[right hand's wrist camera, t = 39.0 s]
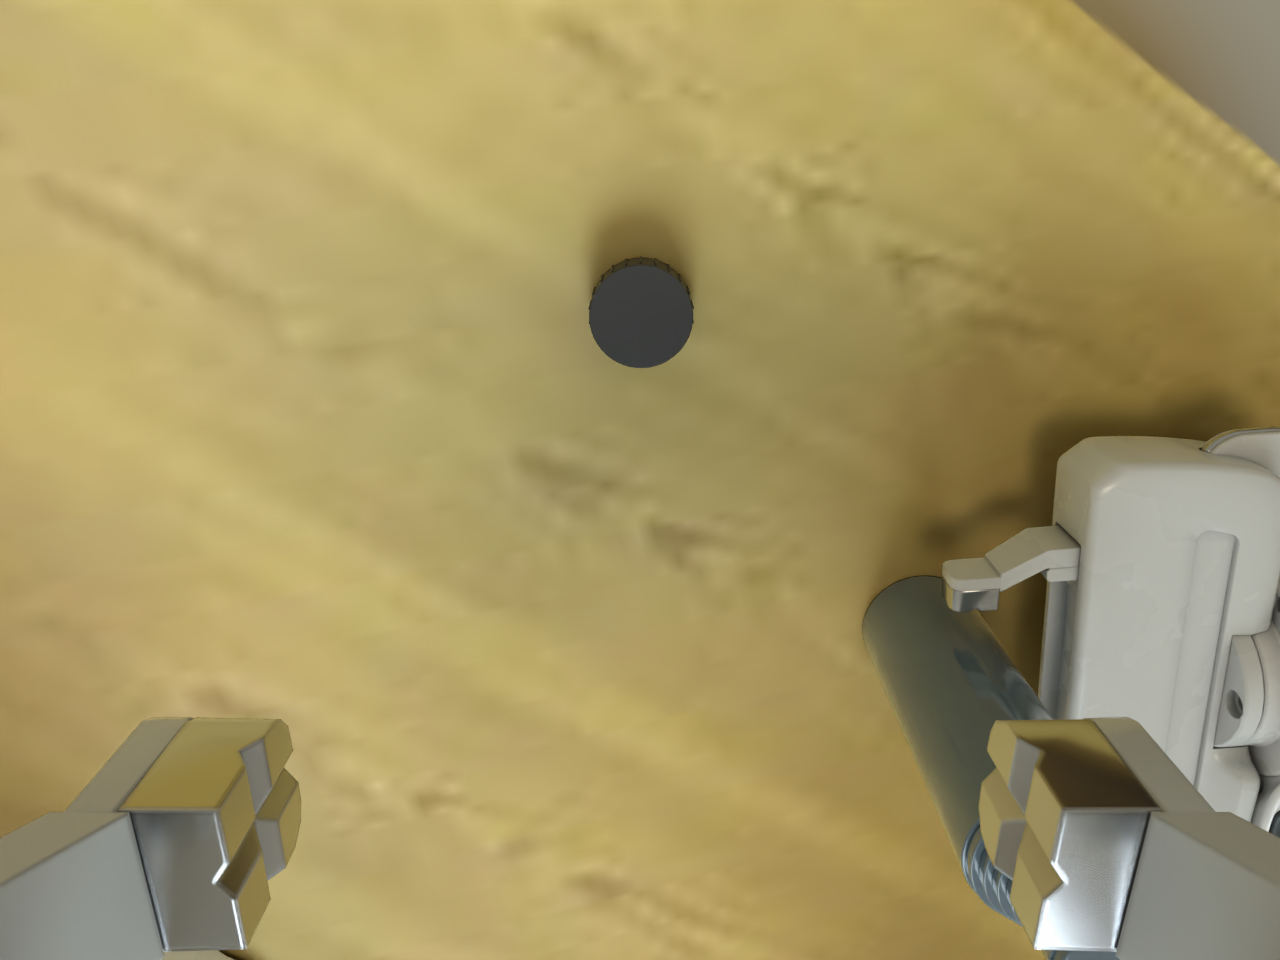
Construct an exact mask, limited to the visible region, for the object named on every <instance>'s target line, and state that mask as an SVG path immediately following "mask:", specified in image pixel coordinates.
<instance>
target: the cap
mask: <svg viewBox="0 0 1280 960" xmlns="http://www.w3.org/2000/svg"><path fill="white" fill-rule="evenodd" d="M689 294H690V293H689V289H688V286H685V284H684V282H683V280H682V279H681V275H680V274H677V273H676V272H675V271H674V270H673V269H672V268H671V267H670V265H669V264H668V265H666V264H664V263H662V262H660V261H657V260H656V259H655V258H654V259H649V258H642V257H640V258H633V259H629V260H627V259H625V261H623V262H620V263H618V264H617V265H615V266H614V265H612V268H611V269H609V270H608V271H607V272H606V273H605V274H604V275H603V274H602V276H601V279H600V281H599V283H598V284H597V287H594V290H593V293H592V295H593V298H592V301H591V302H590V305H589V310H590V312H589V324H590V327H591V331H592V334H593V337H594V339H595V341H596V342H597V344H598V346H599V347H600V348H601V350H602V351H603V352H604V353H605V354H606V355H607V356H609V357H610V358H611V359H613V360H614V361H616V362H618V363H620V364H622V365H625V366H629V367H634V368H648V367H653V366H657V365H660V364H662V363H664V362H666V361H668V360H670V359H671V358H672V357H674V356H675V355H676V354H677V353H678V352H679V351H680V350H681V349H682V348H683V346H684V345H685V343H686V341H687V339H688V338H689V335H690V332H691V329H692V323H693V309H694V307H693V303H692V300H690V297H689Z"/></svg>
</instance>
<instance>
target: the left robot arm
mask: <svg viewBox="0 0 1280 960" xmlns="http://www.w3.org/2000/svg"><path fill="white" fill-rule="evenodd" d="M1039 572H1040V573H1041V574H1042V575H1043V576H1044V577H1045V579H1046V580H1047V591H1046V603H1045V615H1044V626H1043V638H1042V650H1041V662H1040V674H1039V686H1038V698H1039V699H1040V701H1041V702H1042V704H1043V705H1044V707H1045V708H1046V709H1047V711H1048V712H1049V714H1050V715H1051V717H1052V718H1053V720H1063V719H1084V718H1102V717H1129V718H1131V719H1133V720H1136V721H1137V722H1139V723H1140V724H1141V725H1142V727H1143V728H1144V729H1145V730H1146V731H1147V732H1148V734H1149V735H1150V736H1151V737H1152V738H1153V739H1154V741H1155V742H1156V743H1157V744H1158V745H1159V746H1160V747H1161V749H1162V750H1163V751H1164V752H1165V753H1166V754H1167V756H1168V757H1169V758H1170V759H1171V760H1172V761H1173V763H1174V764H1175V765H1176V766H1177V767H1178V768H1179V770H1180V771H1181V772H1182V773H1183V774H1184V775H1185V777H1186V778H1187V779H1188V780H1189V781H1190V782H1191V784H1192V785H1193V786H1194V787H1195V788H1196V789H1197V791H1198V792H1199V793H1200V794H1201V795H1202V796H1203V798H1204V799H1205V800H1206V801H1207V802H1208V803H1209V805H1210V806H1211V807H1212V808H1213V809H1214V810H1215V812H1231V813H1233V814H1235V815H1237V816H1239V817H1241V818H1243V819H1244V820H1246V821H1248V822H1250V823H1252V824H1254V825H1256V826H1258V827H1260V828H1262V829H1264V830H1266V831H1267V832H1269V833H1271V834H1273V835H1275V836H1277V837H1279V838H1280V427H1258V428H1246V429H1234V430H1229V431H1226V432H1223V433H1220V434H1218V435H1216V436H1214V437H1213V438H1211V439H1210V440H1209V441H1207V442H1206V441H1199V440H1191V439H1181V438H1169V437H1152V436H1101V437H1090V438H1086V439H1083V440H1082V441H1080V442H1079V443H1077V444H1076V445H1075V446H1073V447H1072V448H1071V449H1069V450H1068V451H1067V452H1065V453H1064V454H1063V455H1062V456H1060V458H1059V460H1058V464H1057V472H1056V484H1055V496H1054V508H1053V520H1052V526H1043V527H1031V528H1026V529H1024V530H1022V531H1021V532H1019V533H1018V534H1016V535H1015V536H1013V537H1011V538H1010V539H1008V540H1007V541H1005V542H1003V543H1002V544H1000V545H999V546H997V547H995V548H994V549H992V550H991V551H989V552H988V553H986V554H985V556H984V557H980V558H967V559H955V560H948V561H945V562H944V563H943V565H942V597H943V599H944V600H946V602H947V606H948V607H949V608H950V609H951V610H953V611H956V612H961V613H963V612H970V611H972V610H973V609H975V608H976V609H978V610H979V611H991V610H998V599H999V591H1000V592H1002V591H1004V590H1006V589H1007V588H1009V587H1011V586H1013V585H1015V584H1017V583H1019V582H1021V581H1023V580H1025V579H1027V578H1029V577H1031V576H1033V575H1035V574H1037V573H1039Z"/></svg>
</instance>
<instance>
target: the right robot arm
mask: <svg viewBox="0 0 1280 960" xmlns="http://www.w3.org/2000/svg"><path fill="white" fill-rule="evenodd" d="M292 751H293V747H292V742H291V737H290V732H289V728H288V725H286V724H285V723H284V722H283V721H282V720H281V719H247V718H201V717H197V718H191V717H153V718H150V719H148V720H145V721H142V722H141V723H140V724H139V725H138V726H137V728H136V729H135V730H134V731H133V732H132V733H131V735H130V736H129V737H128V738H127V739H126V740H125V742H124V743H123V744H122V745H121V746H120V747H119V749H118V750H117V751H116V752H115V753H114V754H113V756H112V757H111V758H110V759H109V760H108V761H107V763H106V764H105V765H104V766H103V767H102V768H101V770H100V771H99V772H98V773H97V774H96V775H95V777H94V778H93V779H92V780H91V781H90V782H89V784H88V785H87V786H86V787H85V788H84V789H83V791H82V792H81V793H80V794H79V795H78V796H77V798H76V799H75V800H74V801H73V802H72V803H71V805H70V806H69V807H68V808H67V809H66V810H65V811H64V812H49V813H47V814H45V815H43V816H41V817H39V818H37V819H36V820H34V821H32V822H30V823H28V824H26V825H24V826H22V827H20V828H18V829H16V830H14V831H12V832H11V833H9V834H7V835H5V836H3V837H1V838H0V960H235V959H232V958H230V957H227V956H226V955H224V954H223V953H221V952H220V951H219V950H240V949H246V948H247V946H248V944H249V942H250V940H251V938H252V936H253V934H254V932H255V930H256V928H257V926H258V924H259V922H260V920H261V918H262V916H263V914H264V912H265V910H266V907H267V905H268V903H269V901H270V893H269V887H268V882H267V881H268V880H269V879H271V878H272V877H273V876H275V875H276V874H278V873H279V872H280V871H282V870H283V869H284V868H286V866H287V864H288V862H289V860H290V857H291V855H292V853H293V851H294V849H295V846H296V841H297V836H298V832H299V827H300V823H301V796H300V790H299V783H298V781H297V780H296V779H295V778H294V777H293V776H292V775H291V774H290V773H289V772H288V771H287V770H286V769H285V768H284V766H285V764H286V762H287V760H288V759H289V757H290V755H291V753H292ZM987 751H988V753H989V755H990V757H991V759H992V760H993V762H994V764H995V766H996V768H995V769H994V770H993V771H992V772H991V773H990V774H989V775H988V776H987V777H986V778H985V779H984V780H983V781H982V783H981V791H980V799H979V818H980V829H981V834H982V838H983V841H984V845H985V848H986V851H987V853H988V855H989V857H990V860H991V862H992V864H993V866H994V868H996V869H997V870H998V871H1000V872H1001V873H1002V874H1004V875H1005V876H1007V877H1008V878H1009V879H1011V880H1012V881H1013V882H1012V887H1011V893H1010V901H1011V903H1012V905H1013V907H1014V910H1015V912H1016V914H1017V916H1018V918H1019V920H1020V922H1021V924H1022V926H1023V928H1024V930H1025V932H1026V934H1027V936H1028V938H1029V940H1030V942H1031V944H1032V946H1033V948H1034V949H1038V950H1073V951H1108V952H1116V954H1115V956H1116V957H1117V958H1119V959H1120V960H1280V838H1279V837H1277V836H1275V835H1273V834H1271V833H1269V832H1267V831H1266V830H1264V829H1262V828H1260V827H1258V826H1256V825H1254V824H1252V823H1250V822H1248V821H1246V820H1244V819H1243V818H1241V817H1239V816H1237V815H1235V814H1233V813H1231V812H1215V810H1214V809H1213V808H1212V807H1211V806H1210V805H1209V803H1208V802H1207V801H1206V800H1205V799H1204V798H1203V796H1202V795H1201V794H1200V793H1199V792H1198V791H1197V789H1196V788H1195V787H1194V786H1193V785H1192V784H1191V782H1190V781H1189V780H1188V779H1187V778H1186V777H1185V775H1184V774H1183V773H1182V772H1181V771H1180V770H1179V768H1178V767H1177V766H1176V765H1175V764H1174V763H1173V761H1172V760H1171V759H1170V758H1169V757H1168V756H1167V754H1166V753H1165V752H1164V751H1163V750H1162V749H1161V747H1160V746H1159V745H1158V744H1157V743H1156V742H1155V741H1154V739H1153V738H1152V737H1151V736H1150V735H1149V734H1148V732H1147V731H1146V730H1145V729H1144V728H1143V727H1142V725H1141V724H1140V723H1139V722H1137V721H1136V720H1133V719H1131V718H1129V717H1102V718H1084V719H1063V720H996V721H995V723H994V725H993V727H992V729H991V731H990V735H989V741H988V747H987Z"/></svg>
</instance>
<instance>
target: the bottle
mask: <svg viewBox="0 0 1280 960" xmlns="http://www.w3.org/2000/svg"><path fill="white" fill-rule="evenodd" d="M863 639H864V643H865V646H866V648H867V650H868V653H869V655H870V657H871V660H872V662H873V664H874V667H875V669H876V671H877V674H878V676H879V678H880V681H881V683H882V685H883V688H884V690H885V692H886V695H887V697H888V699H889V702H890V704H891V706H892V709H893V711H894V713H895V716H896V718H897V720H898V723H899V725H900V727H901V730H902V732H903V734H904V737H905V739H906V741H907V744H908V746H909V748H910V751H911V753H912V755H913V758H914V760H915V762H916V765H917V767H918V769H919V772H920V774H921V776H922V779H923V781H924V783H925V786H926V788H927V790H928V793H929V795H930V797H931V800H932V802H933V804H934V807H935V809H936V811H937V814H938V816H939V818H940V821H941V823H942V825H943V828H944V830H945V832H946V835H947V837H948V839H949V842H950V844H951V846H952V849H953V851H954V853H955V856H956V858H957V860H958V863H959V865H960V867H961V870H962V872H963V874H964V877H965V879H966V881H967V883H968V884H969V886H970V887H971V888H972V889H973V891H974V892H975V893H976V894H977V895H978V896H979V897H980V899H981V900H982V901H983V902H984V903H985V904H986V905H988V906H989V907H990V908H992V909H993V910H995V911H996V912H998V913H1000V914H1002V915H1003V916H1005V917H1007V918H1008V919H1010V920H1013V921H1014V922H1015V923H1017V924H1019V925H1020V926H1022V924H1021V922H1020V920H1019V918H1018V916H1017V914H1016V912H1015V910H1014V907H1013V905H1012V903H1011V901H1010V893H1011V887H1012V882H1013V881H1012V880H1011V879H1009V878H1008V877H1007V876H1005V875H1004V874H1002V873H1001V872H1000V871H998V870H997V869H996V868H994V866H993V864H992V862H991V860H990V857H989V855H988V853H987V851H986V848H985V845H984V841H983V838H982V834H981V829H980V818H979V799H980V791H981V783H982V781H983V780H984V779H985V778H986V777H987V776H988V775H989V774H990V773H991V772H992V771H993V770H994V769H995V768H996V766H995V764H994V762H993V760H992V759H991V757H990V755H989V753H988V751H987V747H988V741H989V735H990V731H991V729H992V727H993V725H994V723H995V721H996V720H1053V718H1052V717H1051V715H1050V714H1049V712H1048V711H1047V709H1046V708H1045V707H1044V705H1043V704H1042V702H1041V701H1040V699H1039V698H1038V696H1037V695H1036V694H1035V692H1034V691H1033V689H1032V688H1031V686H1030V685H1029V683H1028V682H1027V681H1026V679H1025V678H1024V676H1023V675H1022V673H1021V672H1020V670H1019V669H1018V668H1017V666H1016V665H1015V663H1014V662H1013V660H1012V659H1011V657H1010V656H1009V655H1008V653H1007V652H1006V650H1005V649H1004V647H1003V646H1002V644H1001V643H1000V642H999V640H998V639H997V637H996V636H995V634H994V633H993V631H992V630H991V629H990V627H989V626H988V624H987V623H986V621H985V620H984V619H983V617H982V616H981V614H980V613H979V611H978V610H977V609H976V608H975V609H973V610H972V611H970V612H963V613H961V612H956V611H953V610H951V609H950V608H949V607H948V606H947V602H946V600H944V599H943V597H942V578H938V577H931V576H918V577H912V578H908V579H904V580H901V581H899V582H896V583H895V584H893V585H891V586H889V587H888V588H886V589H885V590H883V591H882V592H881V593H880V594H879V595H878V596H877V597H876V598H875V599H874V601H873V602H872V603H871V605H870V606H869V608H868V610H867V612H866V615H865V618H864V622H863ZM1041 951H1042V953H1043V955H1044V957H1045V959H1046V960H1120V959H1119V958H1117V957H1116V956H1115V954H1116V952H1108V951H1073V950H1041Z"/></svg>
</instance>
